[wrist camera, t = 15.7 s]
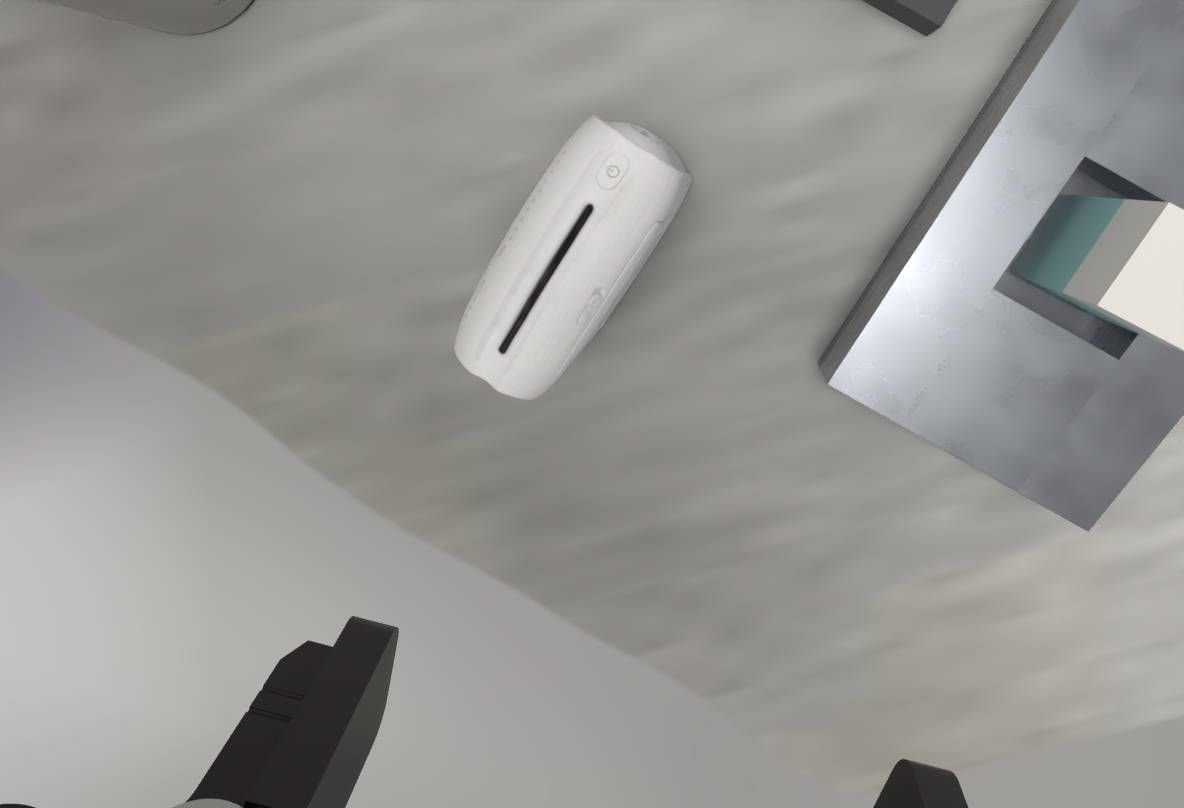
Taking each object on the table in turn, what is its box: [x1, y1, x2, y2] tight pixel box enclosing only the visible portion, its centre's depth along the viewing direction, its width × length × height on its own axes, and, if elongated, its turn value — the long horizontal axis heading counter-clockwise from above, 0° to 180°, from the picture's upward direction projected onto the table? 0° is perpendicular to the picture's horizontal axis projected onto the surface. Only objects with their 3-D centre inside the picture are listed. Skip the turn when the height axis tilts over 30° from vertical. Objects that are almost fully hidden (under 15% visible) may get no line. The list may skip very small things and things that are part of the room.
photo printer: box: [454, 114, 693, 399], centre depth 33 cm, size 10×4×12 cm, turn 147°
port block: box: [818, 0, 1184, 531], centre depth 34 cm, size 12×18×4 cm, turn 152°
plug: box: [1009, 194, 1184, 352], centre depth 31 cm, size 4×4×9 cm
